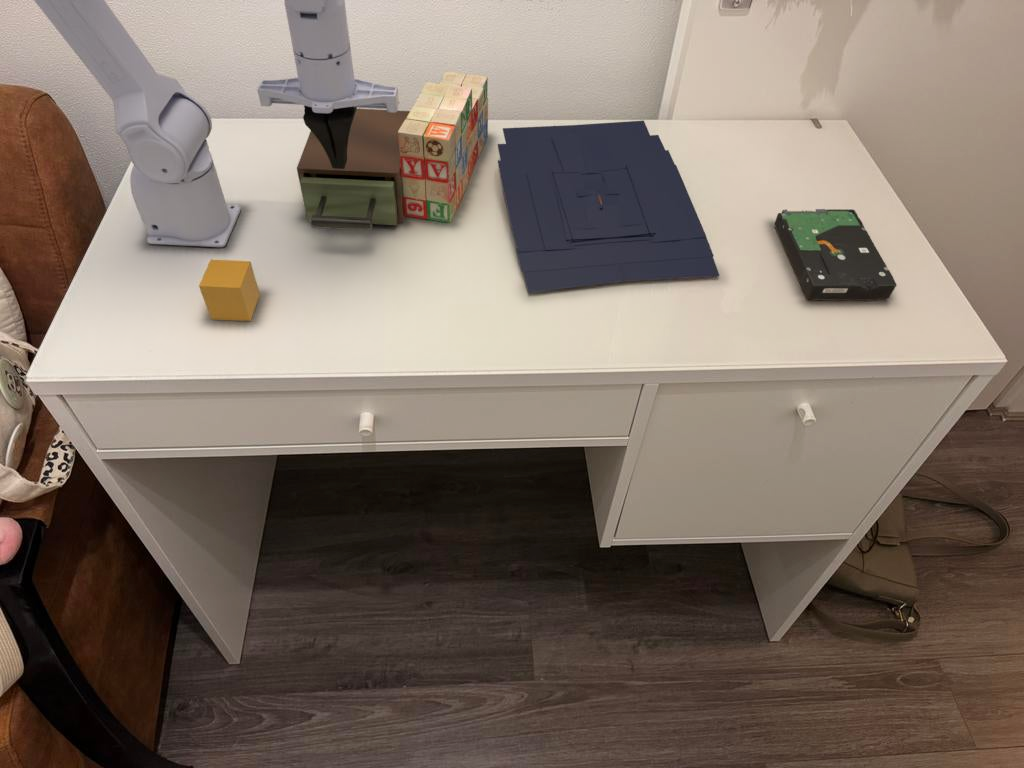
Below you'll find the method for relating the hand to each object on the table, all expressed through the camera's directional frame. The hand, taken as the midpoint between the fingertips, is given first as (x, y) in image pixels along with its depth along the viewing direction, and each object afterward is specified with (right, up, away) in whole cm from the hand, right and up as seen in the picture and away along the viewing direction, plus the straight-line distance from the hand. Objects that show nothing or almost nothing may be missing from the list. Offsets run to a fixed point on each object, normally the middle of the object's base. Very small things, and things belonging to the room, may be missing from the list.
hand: (339, 163), depth 86 cm
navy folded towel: (+31, -3, +13) cm, 34 cm away
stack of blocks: (+11, +4, +18) cm, 21 cm away
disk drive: (+60, -10, +8) cm, 61 cm away
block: (-12, -17, -1) cm, 20 cm away
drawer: (0, -2, +11) cm, 11 cm away
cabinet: (0, +1, +15) cm, 15 cm away
